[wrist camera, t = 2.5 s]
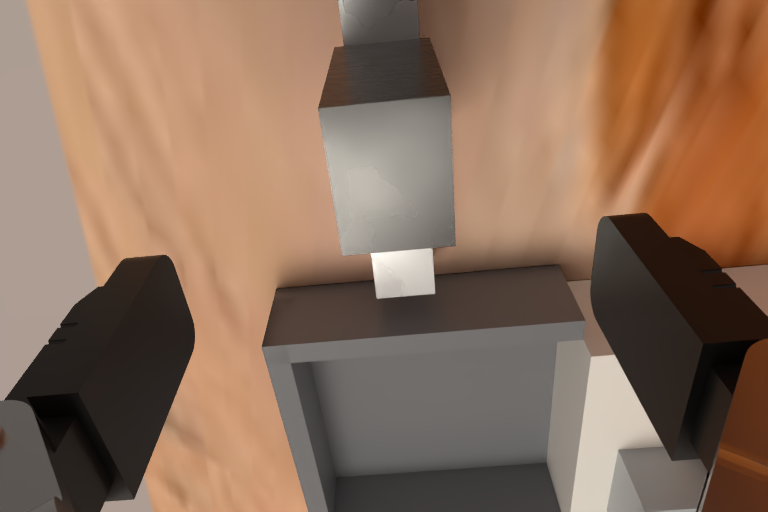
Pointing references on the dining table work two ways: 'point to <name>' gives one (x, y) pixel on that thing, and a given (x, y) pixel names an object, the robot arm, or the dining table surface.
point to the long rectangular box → (604, 405)
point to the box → (422, 391)
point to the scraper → (389, 145)
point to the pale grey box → (655, 482)
